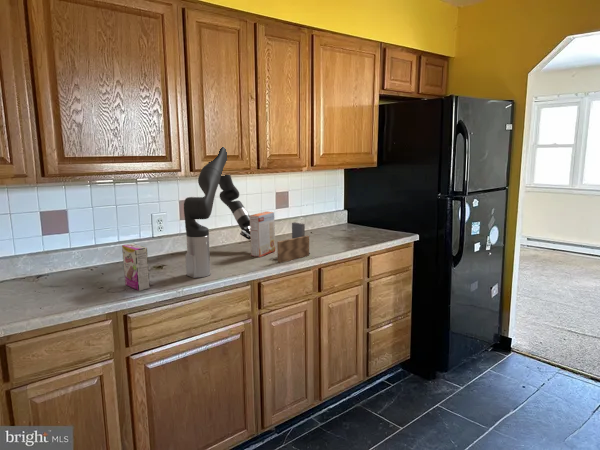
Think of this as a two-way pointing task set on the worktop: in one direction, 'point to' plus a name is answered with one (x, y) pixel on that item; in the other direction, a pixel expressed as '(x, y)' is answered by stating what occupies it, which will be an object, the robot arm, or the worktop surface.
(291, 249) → the shelf wall
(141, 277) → the candy bar box
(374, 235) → the worktop surface
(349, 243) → the worktop surface
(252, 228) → the cracker box
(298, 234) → the bookend
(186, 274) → the robot arm
